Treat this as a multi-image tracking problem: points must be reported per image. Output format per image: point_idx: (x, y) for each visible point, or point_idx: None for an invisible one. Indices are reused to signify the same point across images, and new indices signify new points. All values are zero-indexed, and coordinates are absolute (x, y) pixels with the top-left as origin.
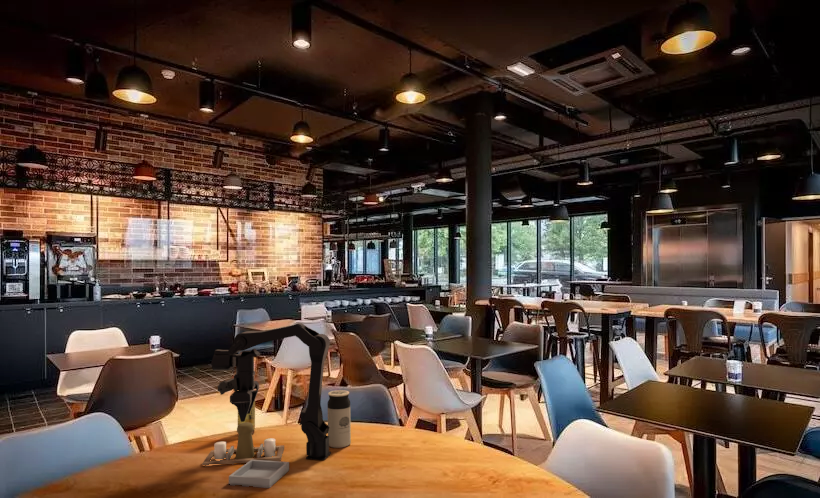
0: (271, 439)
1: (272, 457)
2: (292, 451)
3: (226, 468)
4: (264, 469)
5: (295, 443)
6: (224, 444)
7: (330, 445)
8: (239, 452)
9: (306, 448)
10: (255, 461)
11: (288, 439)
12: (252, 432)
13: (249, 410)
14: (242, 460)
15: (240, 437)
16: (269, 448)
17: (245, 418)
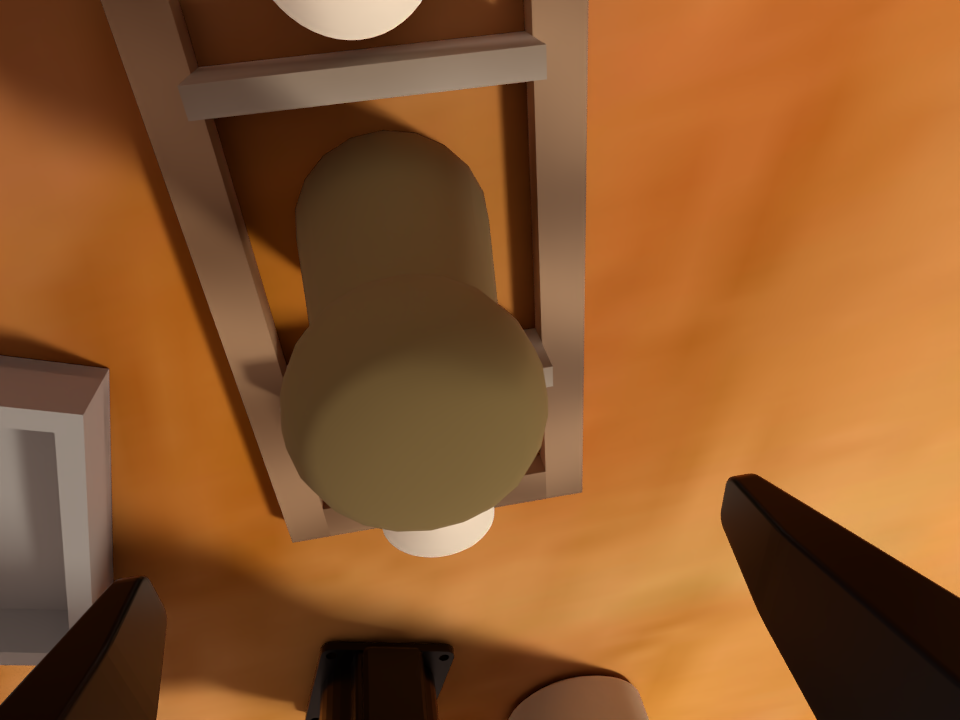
0: (454, 527)
1: (295, 491)
2: (493, 538)
3: (43, 129)
4: (44, 497)
5: (664, 514)
6: (309, 28)
7: (530, 702)
8: (304, 225)
9: (365, 690)
10: (59, 455)
11: (776, 450)
12: None
13: (749, 572)
14: (199, 273)
15: (322, 310)
16: None
17: (143, 687)
